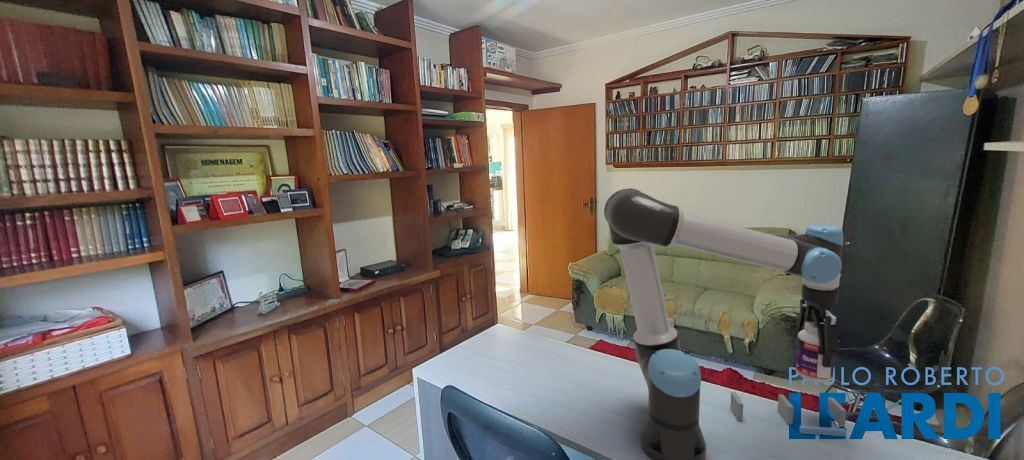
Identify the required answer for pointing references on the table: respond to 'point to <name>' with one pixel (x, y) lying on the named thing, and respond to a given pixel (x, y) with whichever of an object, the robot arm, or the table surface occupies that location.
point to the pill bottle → (810, 354)
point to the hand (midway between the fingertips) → (814, 368)
